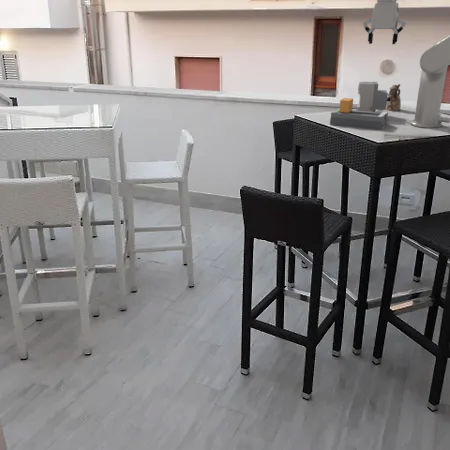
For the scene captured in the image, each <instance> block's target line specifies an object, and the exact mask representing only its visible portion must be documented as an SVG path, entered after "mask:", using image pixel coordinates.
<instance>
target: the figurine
mask: <svg viewBox="0 0 450 450" xmlns="http://www.w3.org/2000/svg"><path fill="white" fill-rule="evenodd" d="M400 87H401V84H400V83H399V84H392V85H391V86H390V87H389V91H388V94H387V95H388V98H390V101H387V104H386V110H385V111H390V112H398V111H400V110H401V106H402V104H401V103H402V102H401V89H400ZM397 110H398V111H397Z"/></svg>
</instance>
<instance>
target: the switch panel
mask: <svg viewBox="0 0 450 450" xmlns="http://www.w3.org/2000/svg"><path fill="white" fill-rule="evenodd" d="M339 110H340V107H338V108H337V109H335V110H333V111H332V112H330V120H329V121H330V122H329V125H330V126H341V127H351V128H361V129H374V130H380V129H381V130H383V129H384V128H385V127H386V126H387V124H388V121H389V119H388V117H389V112H387V111H383V112H380V111H375V112H371V111H359V110H355V109H352V111H350V113H343V112H339ZM384 126H385V127H384ZM383 127H384V128H383Z"/></svg>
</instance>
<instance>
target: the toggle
mask: <svg viewBox="0 0 450 450" xmlns="http://www.w3.org/2000/svg"><path fill="white" fill-rule="evenodd" d="M353 106H354V98H351V97H350V98H347V97H344V98H342V99H340V101H339V108H340V110H339V112H343V113H350V111H352V110H353Z"/></svg>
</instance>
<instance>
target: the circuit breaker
mask: <svg viewBox="0 0 450 450" xmlns="http://www.w3.org/2000/svg"><path fill="white" fill-rule="evenodd" d="M357 94H358V95H359V98H358V99H359V100H358V103H357V104H356V107H355V108H356V110H359V111H371V112H377V111H379V110H380V111H383V110H384V111H387V110H386V104H387V101H390V98H388V95H387V94H389V92H387V90H385V89H379V83H378V81H359V83H358V87H357ZM376 110H377V111H376Z"/></svg>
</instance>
